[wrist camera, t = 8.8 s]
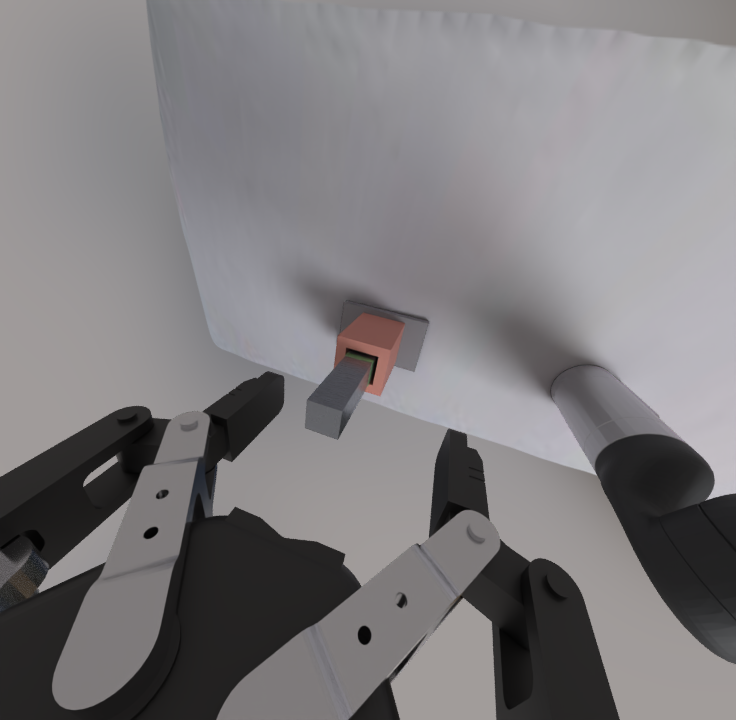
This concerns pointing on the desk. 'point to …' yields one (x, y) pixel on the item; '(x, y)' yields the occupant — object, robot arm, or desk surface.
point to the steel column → (340, 394)
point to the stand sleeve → (380, 339)
